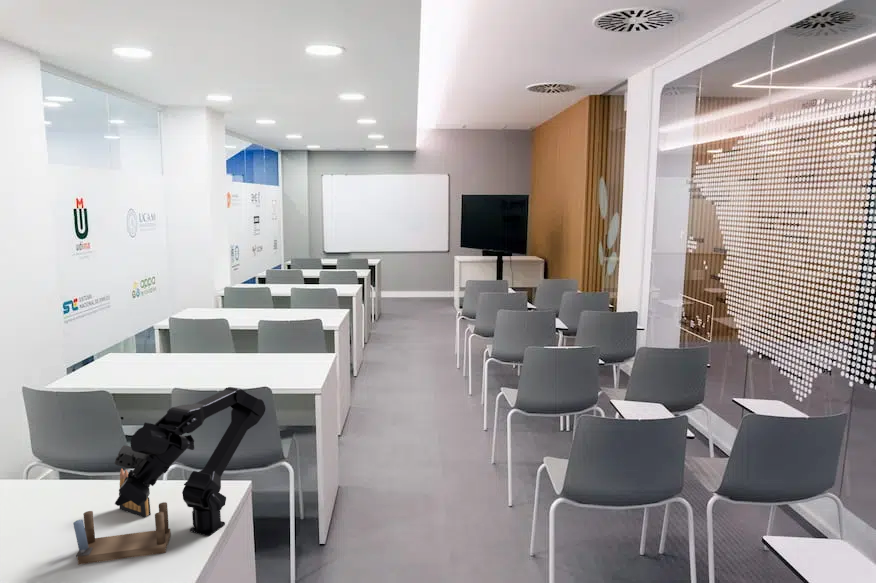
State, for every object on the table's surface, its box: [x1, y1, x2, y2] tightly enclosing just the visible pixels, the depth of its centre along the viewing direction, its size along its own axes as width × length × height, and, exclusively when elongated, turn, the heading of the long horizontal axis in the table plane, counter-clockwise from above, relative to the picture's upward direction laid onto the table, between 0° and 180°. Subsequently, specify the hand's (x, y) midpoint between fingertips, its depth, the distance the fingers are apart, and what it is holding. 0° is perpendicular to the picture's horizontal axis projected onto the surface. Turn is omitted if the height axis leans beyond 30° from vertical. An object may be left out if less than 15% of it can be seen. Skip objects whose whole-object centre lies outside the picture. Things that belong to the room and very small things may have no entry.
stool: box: [75, 501, 172, 566], centre depth 147 cm, size 20×8×10 cm, turn 105°
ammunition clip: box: [118, 468, 152, 519], centre depth 166 cm, size 11×2×12 cm, turn 64°
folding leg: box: [73, 519, 88, 554], centre depth 142 cm, size 2×2×8 cm
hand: (116, 504), depth 144 cm, fingers closed
